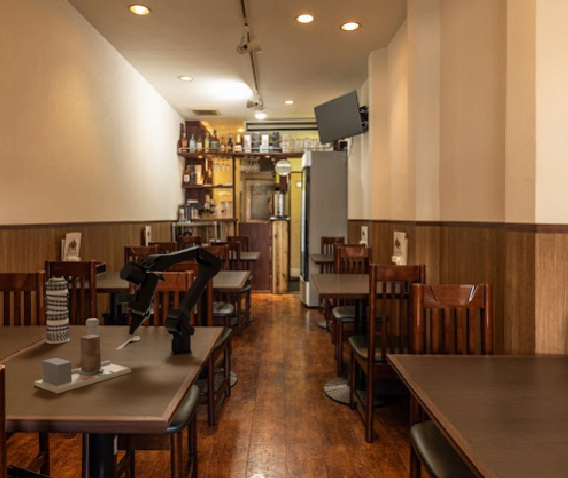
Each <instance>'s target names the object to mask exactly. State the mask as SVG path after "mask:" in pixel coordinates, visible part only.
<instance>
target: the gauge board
mask: <svg viewBox="0 0 568 478" xmlns="http://www.w3.org/2000/svg"><path fill="white" fill-rule="evenodd" d="M101 368H102V369H104V372H103V374H100V373H97V374H93V375H90V376H89V375H86V374H82V373H79V372H78V369H81V367H79V368H74V369H72V361H70V360H66V359H62V358H58V357H54V358H48V359H44V360H42V379H38V380H35V381H34V386H35V385H36V387H38V388H41V389H43V390H46V391H49V392H52V393H55V394H60V393H65V392H67V391H70V390H74V389H78V388H80V387H85V386H88V385H91V384H94V383H95V384H96V383H98V382H102V381H106V380H109V379H112V378H116V377H118V376H123V375H127V374H130V373H131V367H126V366H122V365H118V364H114V363H112V362H111V360H105V361H103V362H101Z"/></svg>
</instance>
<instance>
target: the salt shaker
mask: <svg viewBox="0 0 568 478" xmlns="http://www.w3.org/2000/svg"><path fill="white" fill-rule="evenodd" d="M99 324H100V320H99V319H98V318H95V317H94V318H92V317H91V318H87V319H86V320H85V326H87V329H86V335H85V336H88V335H97V336H100V333H99V328H98V326H99ZM101 351H102V343H101V342H100V352H101Z"/></svg>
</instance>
